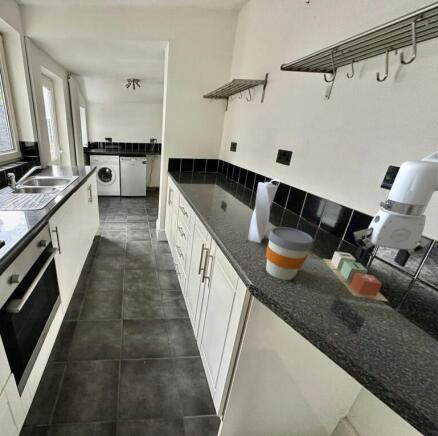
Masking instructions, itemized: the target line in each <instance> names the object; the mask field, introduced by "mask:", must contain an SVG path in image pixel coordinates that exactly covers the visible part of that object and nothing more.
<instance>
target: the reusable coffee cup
mask: <svg viewBox="0 0 438 436" xmlns="http://www.w3.org/2000/svg"><path fill="white" fill-rule="evenodd" d="M313 241H314V239H313V237H312V236H311V235H310V234H309V233H307V232H304V231H302V230H300V229H297V228H292V227H288V226H287V227H286V226H276V227H273V228H271V229H270V232H269V234H268V243H267V244H266V245H267V246H266V254H265V257H266V267H265V270H266V272H267V273H268V274H269V275H270V276H272V277H273V278H276V279H279V280H283V281H292V280H293V279H294V278H295V277H296V275H297V273H298V272H299V270H300V269H301V268H302V267H303V265H304V263H305V261H306V259H307V257H308V256H309V255H308V252H309V251H311V249H312V246H313Z"/></svg>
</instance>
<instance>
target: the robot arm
mask: <svg viewBox="0 0 438 436" xmlns="http://www.w3.org/2000/svg"><path fill="white" fill-rule="evenodd" d="M434 192H438V150H435V152H433V153H430V154H429V155H427V156H425V157H423V158H422V159H420V160H415V159H412V160H406V161H404V162H402V164H401V165H400V167H399V169H398V172H397V174H396V177H395V178H394V182H393V183H392V186H391V188H390V191H389V193H388V196H387V198H386V199H385V201H381V202H380V203H379V206H380V207H381V208H380V209H379V210H378V211H377V212H376V214H375V215H374V217H373V218H372V220H371V222H370V224H369V225H368V228H364V229H361V230H358V231H354V232H353V237H354V241H355V243H356V244H357V245H358V248H357V251H356V254H355V256H356V258H357V259H358V260H359V261H360V262H366V260H367V257H368V255H369V252H370V248H372V247H374V246H376V247H379V248H380V247H381V248H389V249H397V250H398V251H397V253H396V256H395V257H394V260H393V261H394V262H395V263H396V264H397V265H399V266H400V267H405V266H406V265H407V263H408V261H409V259H410V258H411V256H413V255H415V254H416V252H419V251H421V250H422V249H424V247H425V246H427V245H429V244H430V240H428V239H426V238H425V237H424V236H422V235H423V232H424V229H425V225H426V219H427V216H426V215H425V214H424V213H425V211H426V209H427V208H428V205H429V202H430V201H431V199H432V196H433V194H434ZM364 236H365V237H364ZM363 237H364V239H363Z"/></svg>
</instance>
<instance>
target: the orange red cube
mask: <svg viewBox="0 0 438 436" xmlns="http://www.w3.org/2000/svg"><path fill="white" fill-rule="evenodd" d="M351 285H352V286H353V287H354V288H355V290H356V291H357V292H358V293H360V294H366V295H372V296H376V295H377V293H378V291H379V292H380V290H381V287H382V285H383V283H382V282H381V281H380V280H378V279H377V277H376V276H375V275H373V274H369V273H367V274H362V273H356V274H355V276H354V278H353V280H352V283H351Z"/></svg>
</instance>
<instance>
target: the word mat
mask: <svg viewBox="0 0 438 436" xmlns="http://www.w3.org/2000/svg"><path fill="white" fill-rule="evenodd" d="M322 259H323V261H324V262H325V264H326V265H327V266H328V267H329V268H330V269H331V271H332V272H333V273H334V274H335V275H336V277H337V278H338V279H339V281H341V283H342V284H343V285H344V287H346V289H347V290H348V291H349V292H350V293H351V294H352V296H353V297H358V298H359V297H360V298H363V299H370V300H376V301H383V302H388V303H389V301H390V300H388V299H387V298H386V297H385V296H384V295H383V294H382V293H381V292H380V290H379V291H378V293H377V295H376V296H372V295H366V294H360V293H358V292H357V291H356V290H355V288H354V287H353V286H352V285H351V283H352V280H347V279H346V278H345V277H344V276H343V275H342V274H341V273H340V271H341V269H338V268H336V267H335V266H334V265H333V263H332V262H331V261H332V259H328V258H322Z"/></svg>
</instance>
